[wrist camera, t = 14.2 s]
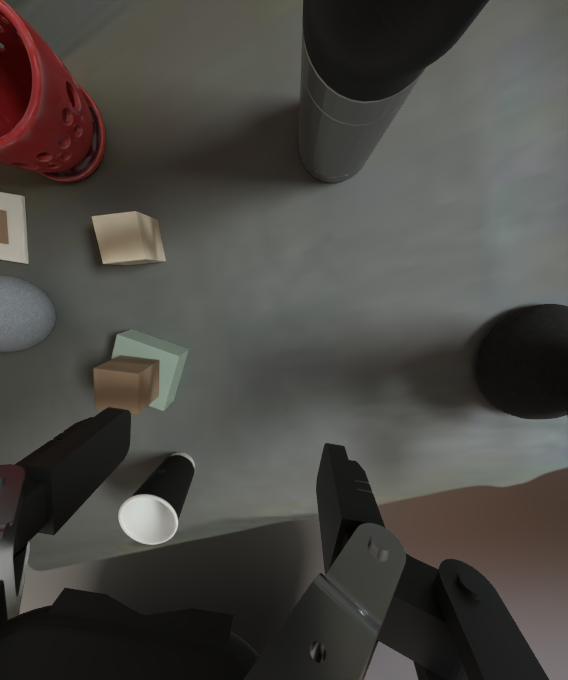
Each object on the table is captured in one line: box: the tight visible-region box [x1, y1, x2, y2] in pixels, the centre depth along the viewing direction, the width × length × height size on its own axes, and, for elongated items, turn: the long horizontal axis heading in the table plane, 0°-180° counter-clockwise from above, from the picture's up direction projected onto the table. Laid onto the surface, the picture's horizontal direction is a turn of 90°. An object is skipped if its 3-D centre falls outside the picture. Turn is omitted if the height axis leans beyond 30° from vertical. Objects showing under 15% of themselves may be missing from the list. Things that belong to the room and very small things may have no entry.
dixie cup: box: [118, 453, 195, 544], centre depth 41 cm, size 8×8×11 cm
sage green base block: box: [111, 329, 189, 411], centre depth 41 cm, size 9×9×4 cm
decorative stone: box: [0, 276, 56, 352], centre depth 36 cm, size 10×10×10 cm
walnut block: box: [93, 355, 160, 415], centre depth 37 cm, size 6×6×6 cm
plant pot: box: [0, 0, 106, 182], centre depth 30 cm, size 13×13×12 cm
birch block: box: [92, 211, 166, 265], centre depth 36 cm, size 6×6×6 cm
